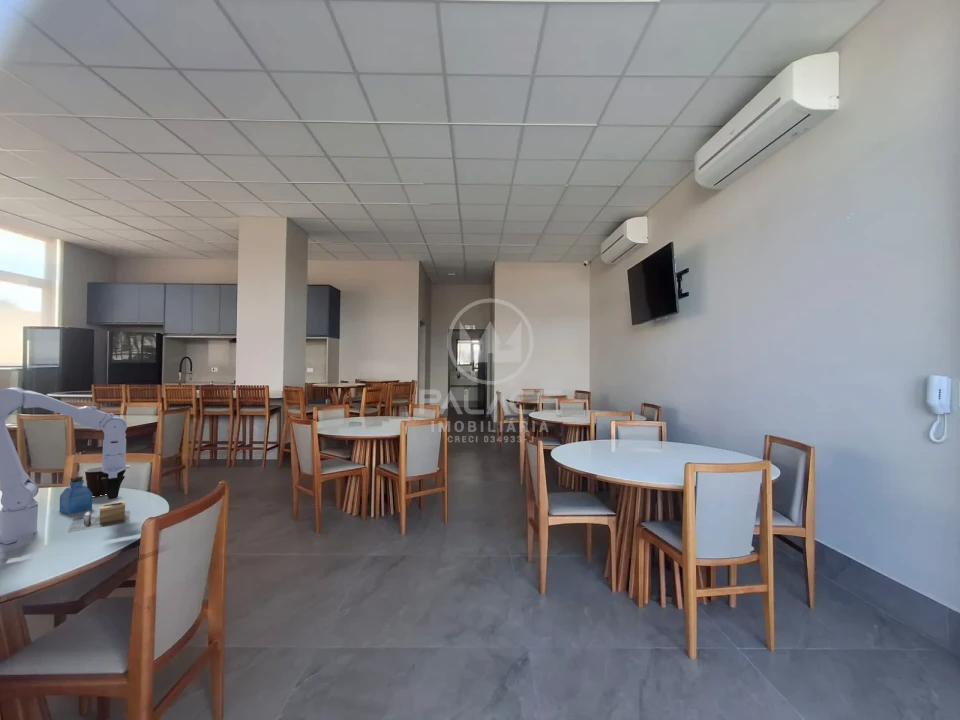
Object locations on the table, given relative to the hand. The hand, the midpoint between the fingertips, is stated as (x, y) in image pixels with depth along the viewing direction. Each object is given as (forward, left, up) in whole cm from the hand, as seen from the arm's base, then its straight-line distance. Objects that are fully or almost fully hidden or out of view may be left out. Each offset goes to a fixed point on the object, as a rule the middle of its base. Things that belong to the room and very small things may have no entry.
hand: (113, 495), depth 135 cm
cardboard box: (0, 0, -7) cm, 7 cm away
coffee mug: (-36, +13, -9) cm, 39 cm away
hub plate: (-1, -3, -8) cm, 9 cm away
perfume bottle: (-21, 0, -9) cm, 23 cm away
